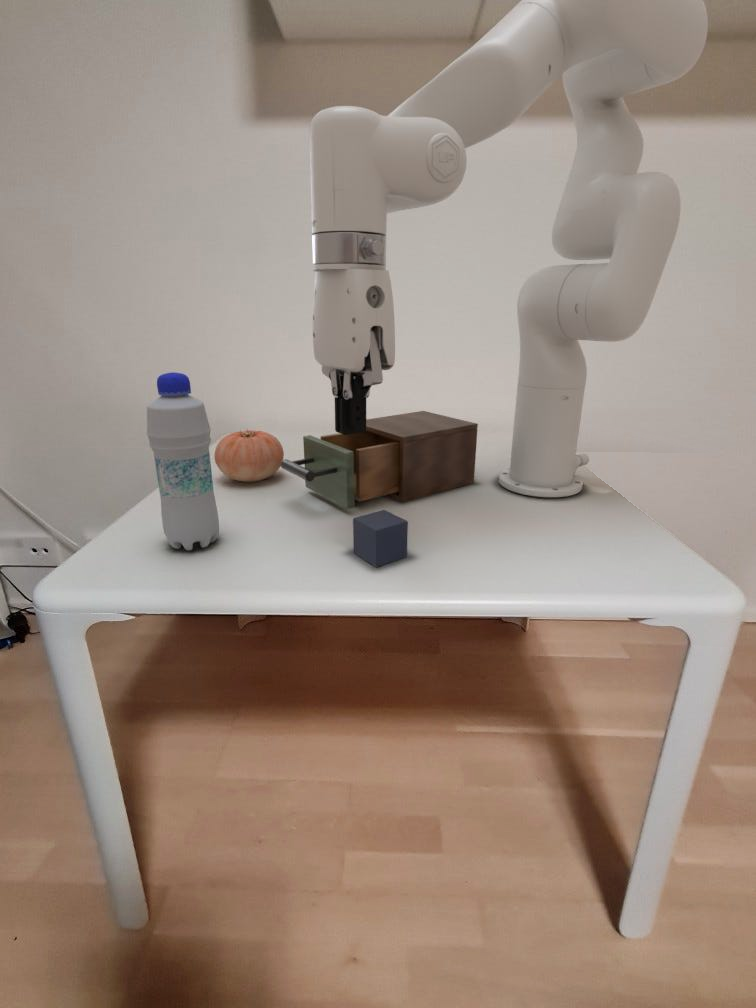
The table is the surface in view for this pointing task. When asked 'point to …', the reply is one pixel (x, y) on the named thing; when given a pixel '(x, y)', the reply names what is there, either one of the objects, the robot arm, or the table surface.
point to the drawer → (349, 466)
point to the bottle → (182, 463)
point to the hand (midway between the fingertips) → (350, 431)
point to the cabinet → (429, 452)
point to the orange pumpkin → (249, 455)
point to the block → (380, 537)
